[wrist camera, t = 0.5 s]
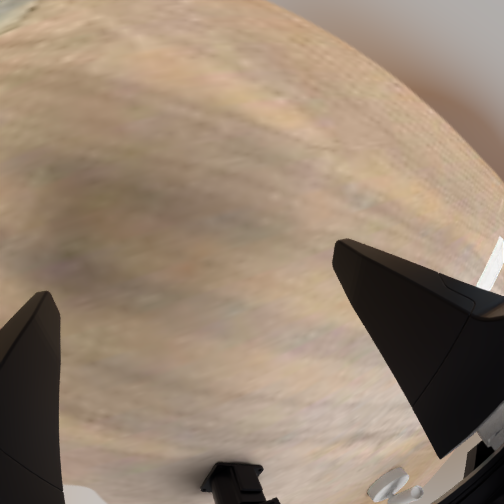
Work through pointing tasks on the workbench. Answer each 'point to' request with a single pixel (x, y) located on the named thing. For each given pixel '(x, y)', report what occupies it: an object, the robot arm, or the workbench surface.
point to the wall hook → (394, 488)
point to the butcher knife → (492, 267)
